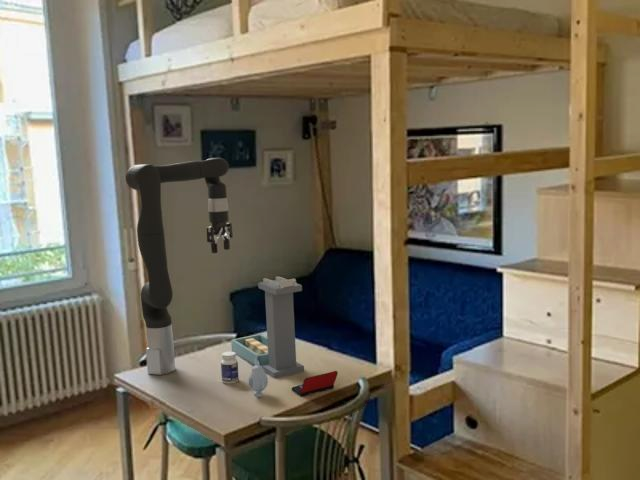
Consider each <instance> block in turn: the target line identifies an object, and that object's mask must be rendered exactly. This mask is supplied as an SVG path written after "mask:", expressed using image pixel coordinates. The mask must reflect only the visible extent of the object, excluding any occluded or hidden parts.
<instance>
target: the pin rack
mask: <svg viewBox="0 0 640 480" xmlns="http://www.w3.org/2000/svg"><path fill="white" fill-rule="evenodd" d="M257 285H258V286H257V287H258V289H260V290H262V291H264V299H265V302H264V303H265V316H266V317H265V319H266V337H267V340H268V359H269V364H264V365H261V366H262V368H263V369H264V371H265V373H266V375H267V376H270V377H271V378H272V379H278V378H281V377H286V376H290V375H294V374H298V373H302V372H305V365H303V364H302V363H300V362H299V361H297V352H296V351H297V348H296V347H297V346H296V331H295V327H296V326H295V310H294V307H295V306H294V293H298V292H302V291H303V285H302V284H300V283H297V279H296V278H290V279H287V278H284V277H282V276H275V279H274V280H272V279H269V278H266V277H264V278H262V281H260V282H258V283H257Z"/></svg>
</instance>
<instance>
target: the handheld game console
mask: <svg viewBox="0 0 640 480" xmlns="http://www.w3.org/2000/svg"><path fill="white" fill-rule="evenodd" d="M337 376H338V370H333V371H330V372H326V373H322V374H318V375H314V376H313V375H312V376H309V377H306V378H305V379H304V380H303V382H302V384H300V385H296V386H292V387H291V391H292V392H294V394H296V395H298V396H299V397H306V396H310V395H314V394H317V393H321V392H325V391H330V390H333V389H334V388H335V385H334V384H335V382H336V379H337Z"/></svg>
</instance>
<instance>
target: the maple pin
mask: <svg viewBox="0 0 640 480" xmlns="http://www.w3.org/2000/svg"><path fill="white" fill-rule="evenodd" d="M245 347H247V348H249V349H250V350H252V351H254V352H255V353H257V354H258V355H262V354H266V353H268V347H267V346H265V345H264V344H262V343H260V342H258V341H257V340H255V339H253V338H250V339H245Z"/></svg>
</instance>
